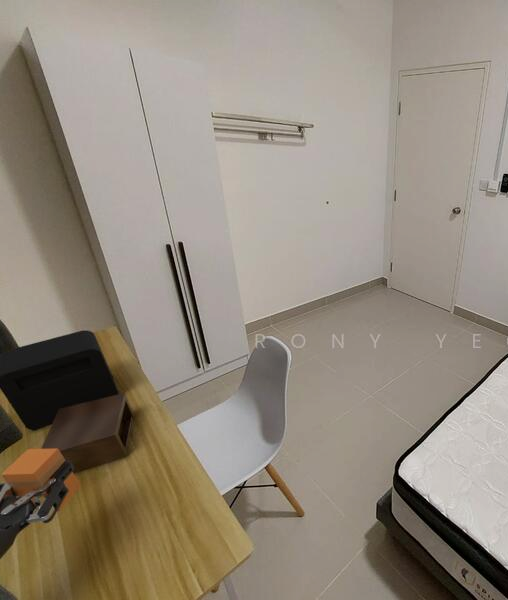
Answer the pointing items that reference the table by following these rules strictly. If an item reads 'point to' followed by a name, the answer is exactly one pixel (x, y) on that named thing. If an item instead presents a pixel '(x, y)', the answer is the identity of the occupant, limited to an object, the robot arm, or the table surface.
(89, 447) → the open-ended wooden box
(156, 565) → the table surface
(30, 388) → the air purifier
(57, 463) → the package
